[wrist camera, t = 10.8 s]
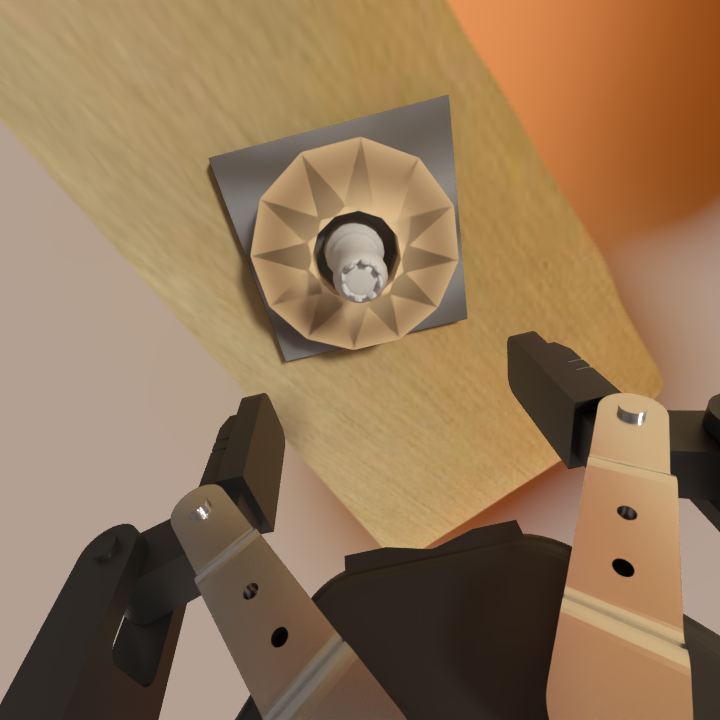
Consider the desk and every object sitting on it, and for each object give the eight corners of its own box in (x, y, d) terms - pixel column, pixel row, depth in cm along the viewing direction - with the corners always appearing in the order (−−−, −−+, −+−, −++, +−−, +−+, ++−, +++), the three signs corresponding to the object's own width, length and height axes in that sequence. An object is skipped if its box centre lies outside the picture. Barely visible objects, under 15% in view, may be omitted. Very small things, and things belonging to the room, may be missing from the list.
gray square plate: (212, 157, 25) (196, 160, 22) (444, 96, 25) (461, 89, 22) (287, 355, 34) (283, 377, 30) (463, 314, 33) (477, 332, 30)
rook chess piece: (369, 285, 30) (382, 328, 23) (315, 265, 29) (312, 305, 22) (392, 230, 28) (413, 259, 21) (335, 207, 27) (338, 230, 20)
